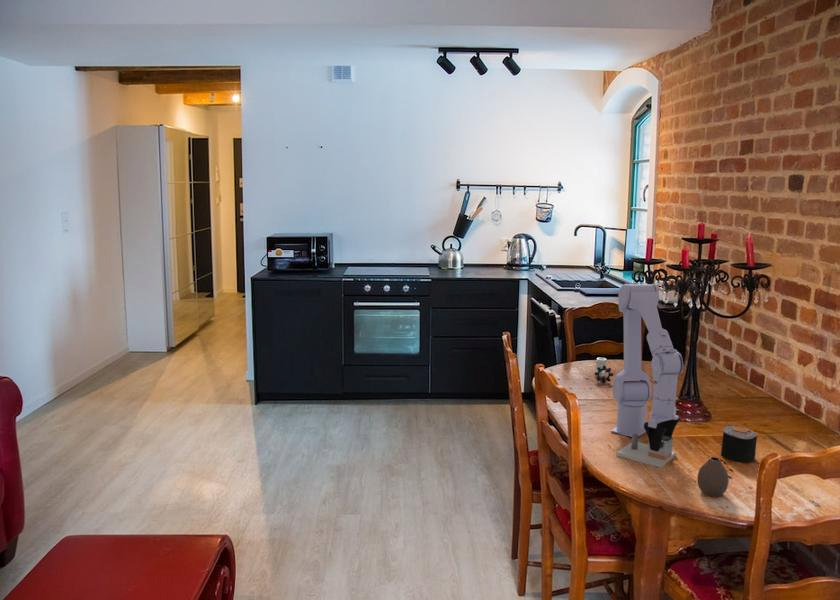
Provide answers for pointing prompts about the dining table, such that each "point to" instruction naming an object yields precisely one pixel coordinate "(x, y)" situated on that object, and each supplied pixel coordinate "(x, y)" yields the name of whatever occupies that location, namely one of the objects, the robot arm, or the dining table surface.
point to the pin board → (641, 453)
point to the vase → (713, 478)
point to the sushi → (739, 444)
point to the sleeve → (663, 449)
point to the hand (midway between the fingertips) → (660, 446)
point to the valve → (602, 370)
